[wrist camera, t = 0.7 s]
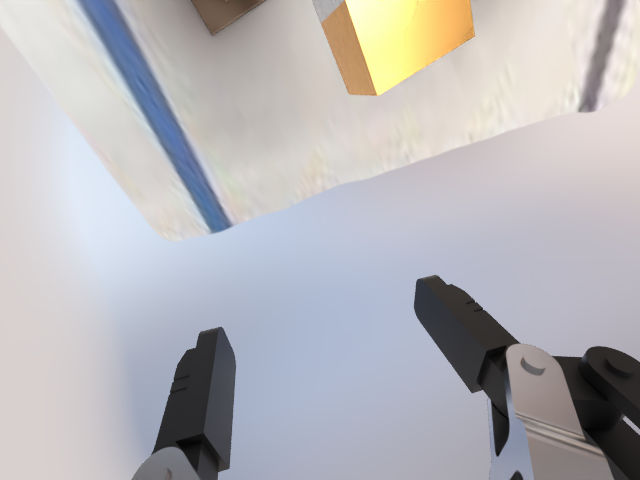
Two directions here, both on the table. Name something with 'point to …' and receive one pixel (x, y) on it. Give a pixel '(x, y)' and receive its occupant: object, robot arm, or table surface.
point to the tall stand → (223, 11)
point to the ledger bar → (391, 37)
